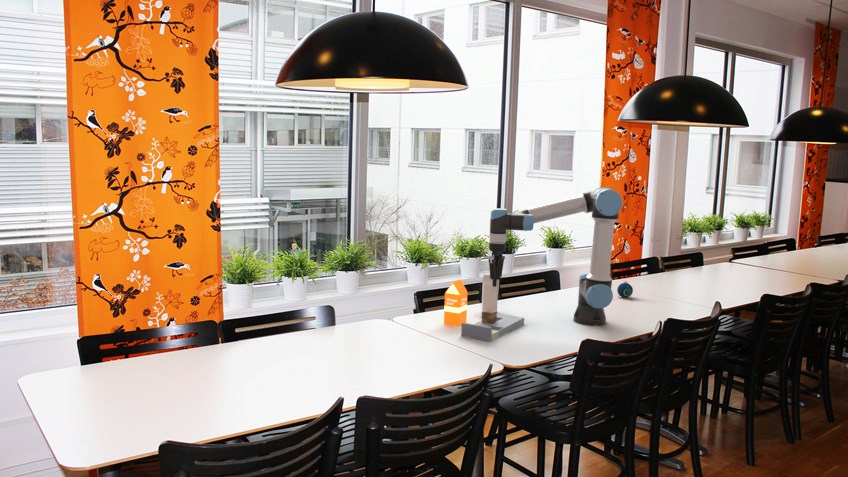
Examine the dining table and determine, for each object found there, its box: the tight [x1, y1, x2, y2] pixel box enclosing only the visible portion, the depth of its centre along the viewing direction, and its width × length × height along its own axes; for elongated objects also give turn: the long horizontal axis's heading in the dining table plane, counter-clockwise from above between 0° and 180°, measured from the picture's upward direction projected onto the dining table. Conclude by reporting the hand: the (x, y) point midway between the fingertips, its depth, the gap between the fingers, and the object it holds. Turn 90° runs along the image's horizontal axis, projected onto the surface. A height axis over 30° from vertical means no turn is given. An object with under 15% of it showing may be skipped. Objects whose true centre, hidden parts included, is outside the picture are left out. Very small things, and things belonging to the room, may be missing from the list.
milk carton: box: [481, 274, 499, 312], centre depth 330 cm, size 7×7×19 cm
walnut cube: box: [481, 310, 498, 324], centre depth 300 cm, size 5×5×5 cm
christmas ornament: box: [616, 280, 634, 299], centre depth 372 cm, size 8×8×10 cm
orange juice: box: [443, 279, 468, 327], centre depth 308 cm, size 8×9×20 cm
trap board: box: [460, 312, 525, 343], centre depth 298 cm, size 14×36×6 cm, turn 149°
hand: (495, 293), depth 305 cm, fingers closed
